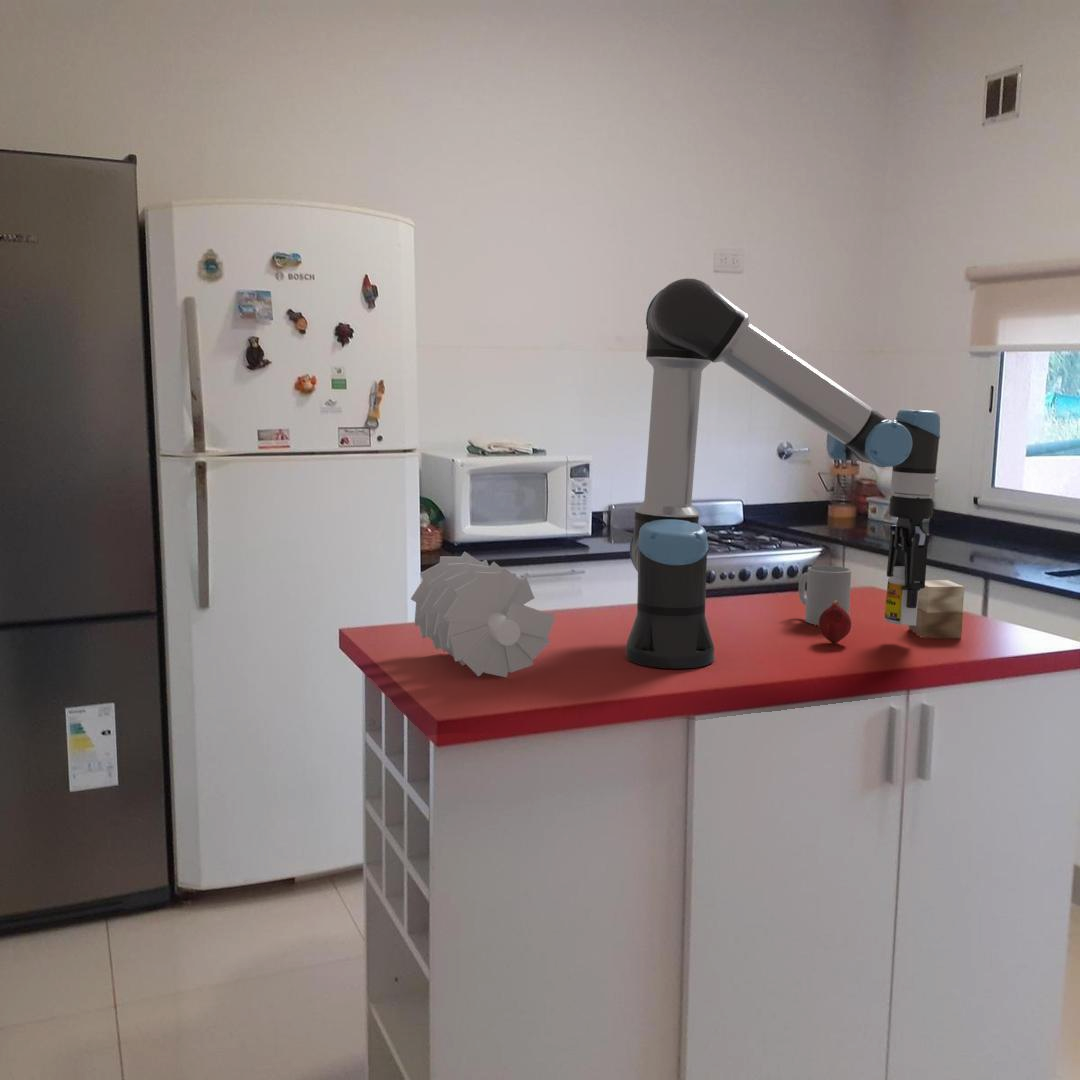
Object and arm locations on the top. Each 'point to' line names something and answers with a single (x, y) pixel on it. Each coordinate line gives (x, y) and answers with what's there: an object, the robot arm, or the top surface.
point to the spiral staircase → (480, 615)
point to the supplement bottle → (895, 595)
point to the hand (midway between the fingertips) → (901, 620)
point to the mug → (824, 590)
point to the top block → (941, 597)
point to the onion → (834, 623)
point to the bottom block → (938, 624)
